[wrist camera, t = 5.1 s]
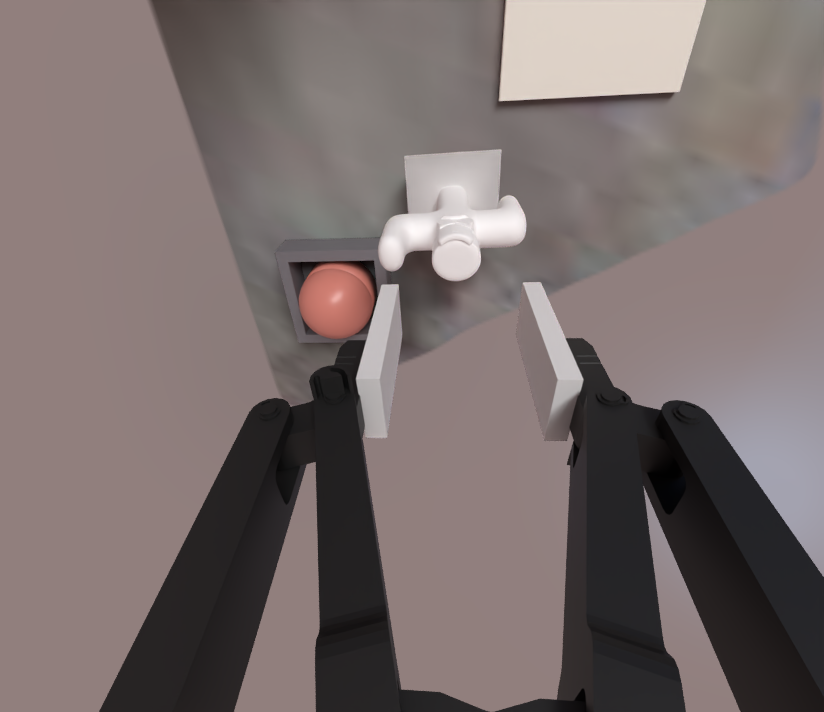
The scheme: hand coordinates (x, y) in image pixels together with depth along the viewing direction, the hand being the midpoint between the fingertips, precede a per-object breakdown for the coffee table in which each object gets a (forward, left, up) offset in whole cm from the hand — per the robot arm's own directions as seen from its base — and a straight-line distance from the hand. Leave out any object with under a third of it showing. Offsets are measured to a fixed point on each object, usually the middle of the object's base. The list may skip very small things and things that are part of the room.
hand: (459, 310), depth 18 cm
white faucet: (0, 0, -21) cm, 21 cm away
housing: (+9, -11, -21) cm, 25 cm away
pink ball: (+9, -11, -22) cm, 26 cm away
